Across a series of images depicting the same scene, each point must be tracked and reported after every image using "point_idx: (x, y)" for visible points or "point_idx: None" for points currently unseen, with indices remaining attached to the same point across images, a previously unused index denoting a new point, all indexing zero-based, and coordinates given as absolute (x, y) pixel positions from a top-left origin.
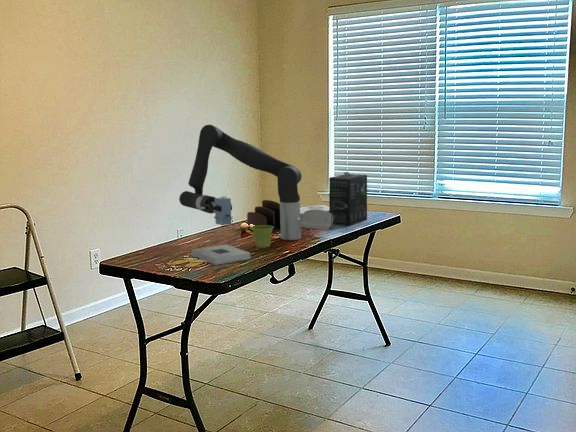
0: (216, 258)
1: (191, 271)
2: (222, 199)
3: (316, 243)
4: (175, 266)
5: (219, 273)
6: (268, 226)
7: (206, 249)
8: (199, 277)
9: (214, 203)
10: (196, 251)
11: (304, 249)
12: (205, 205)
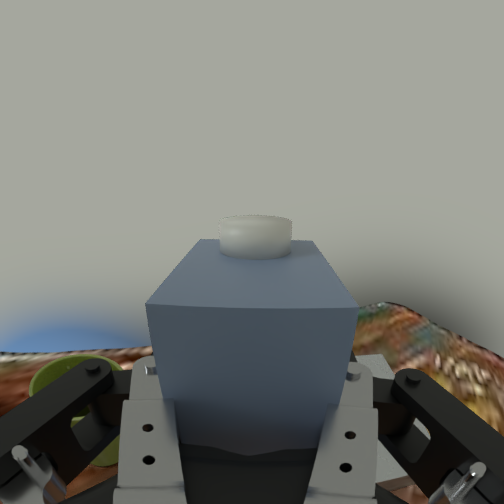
0: (377, 354)
1: (433, 351)
2: (299, 241)
3: (14, 358)
4: (473, 387)
5: (379, 328)
6: (36, 384)
7: (387, 451)
8: (417, 324)
9: (341, 408)
10: (428, 435)
11: (84, 353)
12: (476, 415)
